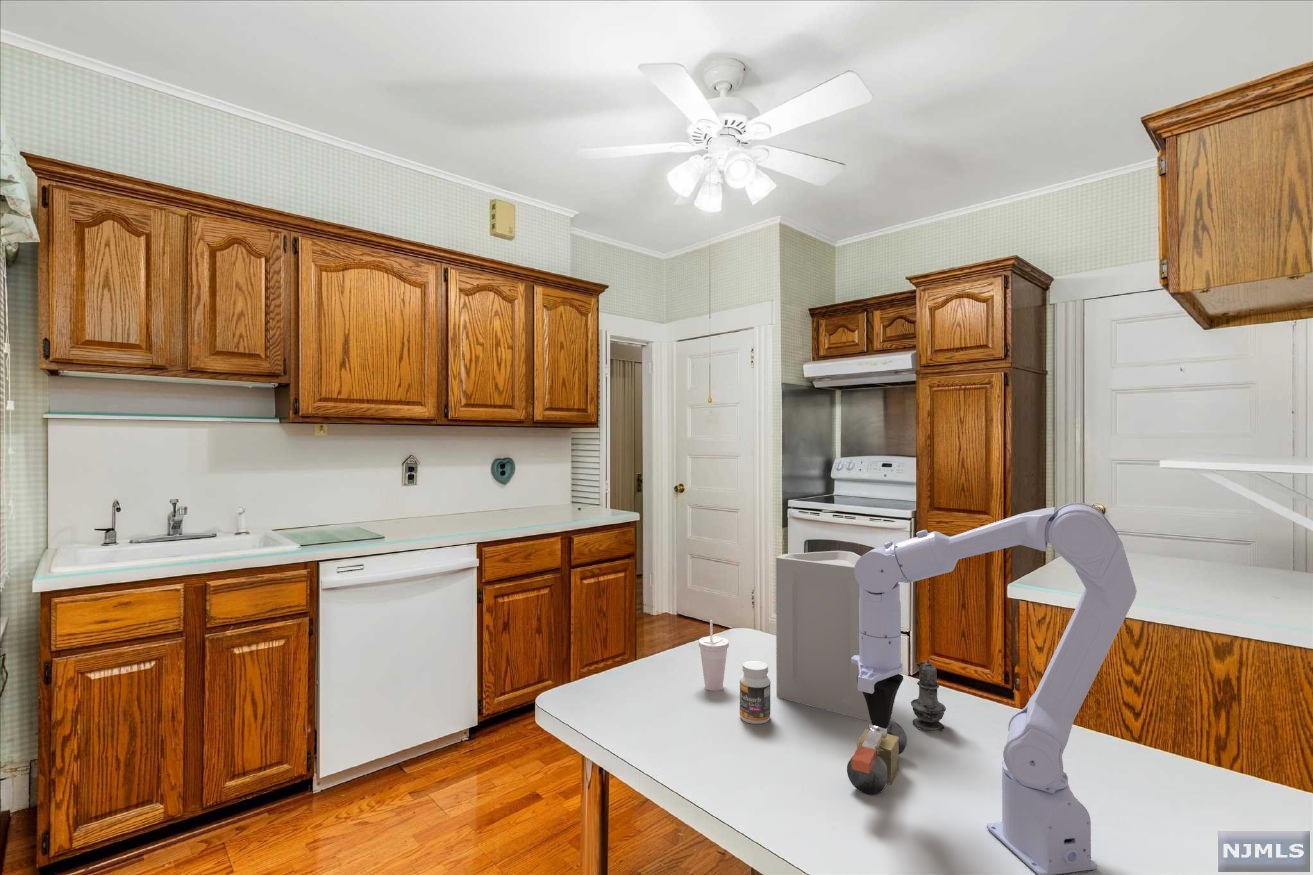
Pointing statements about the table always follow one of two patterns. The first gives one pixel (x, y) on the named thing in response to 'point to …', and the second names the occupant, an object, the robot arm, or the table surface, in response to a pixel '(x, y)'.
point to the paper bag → (818, 631)
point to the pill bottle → (755, 693)
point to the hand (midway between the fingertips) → (880, 725)
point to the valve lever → (868, 749)
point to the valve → (880, 761)
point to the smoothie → (713, 659)
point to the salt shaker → (928, 701)
